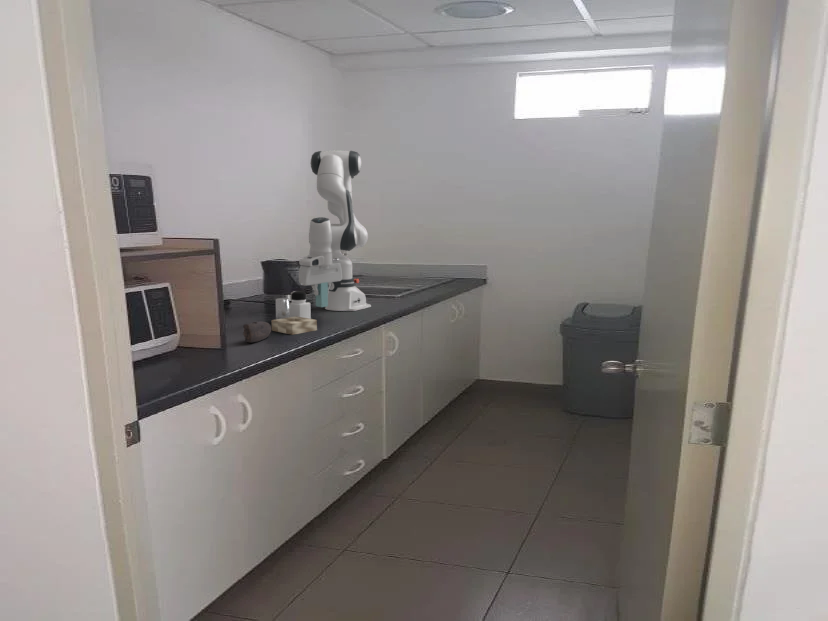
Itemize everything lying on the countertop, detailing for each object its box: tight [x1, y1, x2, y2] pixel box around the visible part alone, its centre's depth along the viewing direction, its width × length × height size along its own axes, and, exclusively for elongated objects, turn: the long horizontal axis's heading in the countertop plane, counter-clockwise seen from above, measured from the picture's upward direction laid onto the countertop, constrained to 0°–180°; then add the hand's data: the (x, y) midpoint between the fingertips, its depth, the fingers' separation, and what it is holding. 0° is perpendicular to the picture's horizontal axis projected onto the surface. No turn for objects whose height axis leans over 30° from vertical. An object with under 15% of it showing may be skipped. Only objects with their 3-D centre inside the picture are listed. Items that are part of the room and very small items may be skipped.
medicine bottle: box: [289, 290, 312, 319], centre depth 262 cm, size 7×7×12 cm
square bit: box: [315, 282, 328, 308], centre depth 250 cm, size 3×3×10 cm
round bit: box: [275, 297, 290, 320], centre depth 253 cm, size 5×5×10 cm
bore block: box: [271, 316, 318, 336], centre depth 240 cm, size 12×12×4 cm
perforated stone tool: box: [242, 320, 272, 344], centre depth 221 cm, size 15×5×7 cm, turn 158°
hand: (321, 294), depth 250 cm, fingers closed on square bit, 3 cm apart
